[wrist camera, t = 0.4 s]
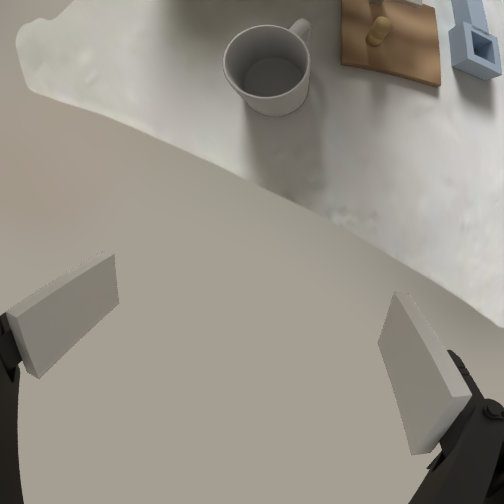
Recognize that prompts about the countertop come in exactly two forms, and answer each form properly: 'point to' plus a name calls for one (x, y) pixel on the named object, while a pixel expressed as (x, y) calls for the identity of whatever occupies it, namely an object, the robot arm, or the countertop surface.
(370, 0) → the block
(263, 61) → the mug
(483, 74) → the link
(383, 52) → the board
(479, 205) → the countertop surface
